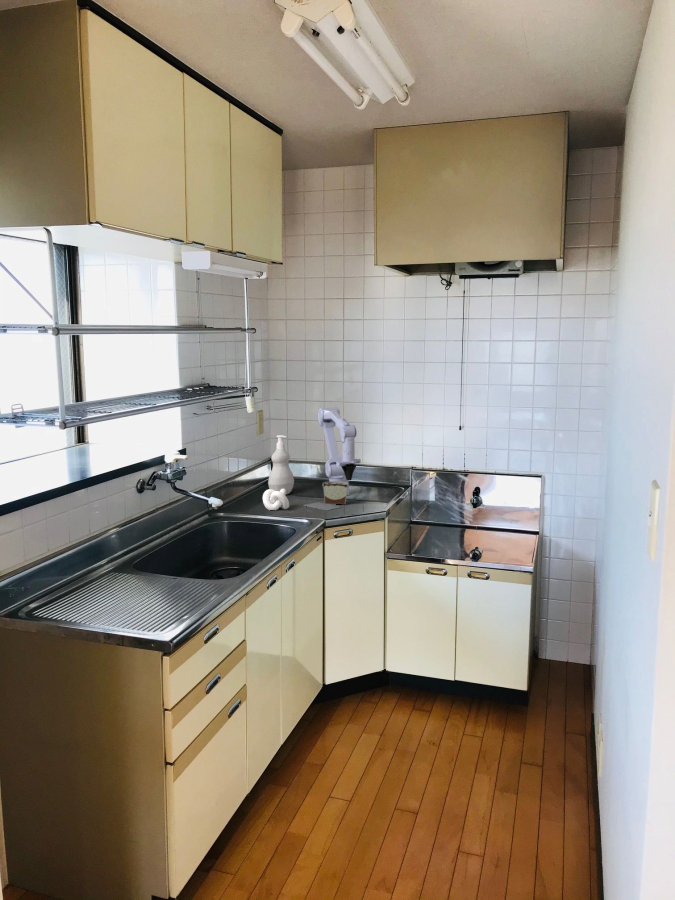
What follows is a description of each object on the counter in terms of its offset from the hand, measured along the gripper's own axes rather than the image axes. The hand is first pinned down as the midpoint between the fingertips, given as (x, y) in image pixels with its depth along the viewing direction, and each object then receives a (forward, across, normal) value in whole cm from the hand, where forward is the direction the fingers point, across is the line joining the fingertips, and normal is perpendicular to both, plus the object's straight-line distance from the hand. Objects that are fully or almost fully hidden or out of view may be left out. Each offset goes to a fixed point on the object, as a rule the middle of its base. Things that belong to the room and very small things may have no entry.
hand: (348, 480), depth 337 cm
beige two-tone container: (+10, -9, 0) cm, 13 cm away
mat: (+10, -18, 0) cm, 20 cm away
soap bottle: (+10, -9, +38) cm, 40 cm away
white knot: (+10, -34, +12) cm, 37 cm away
